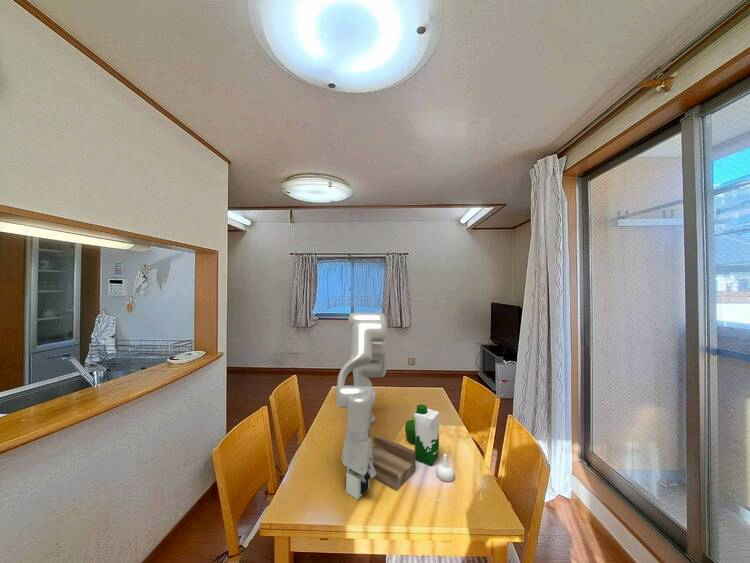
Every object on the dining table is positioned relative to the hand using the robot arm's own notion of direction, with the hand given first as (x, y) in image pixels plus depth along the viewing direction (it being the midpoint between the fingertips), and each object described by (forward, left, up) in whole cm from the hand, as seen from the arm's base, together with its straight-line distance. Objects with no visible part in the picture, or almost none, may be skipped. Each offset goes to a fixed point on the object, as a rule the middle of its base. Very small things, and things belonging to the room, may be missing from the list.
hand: (357, 487), depth 90 cm
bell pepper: (0, +38, -1) cm, 38 cm away
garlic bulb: (+20, +25, -1) cm, 32 cm away
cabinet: (0, 0, -1) cm, 1 cm away
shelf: (+1, +14, -1) cm, 14 cm away
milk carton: (+10, +30, -1) cm, 32 cm away
